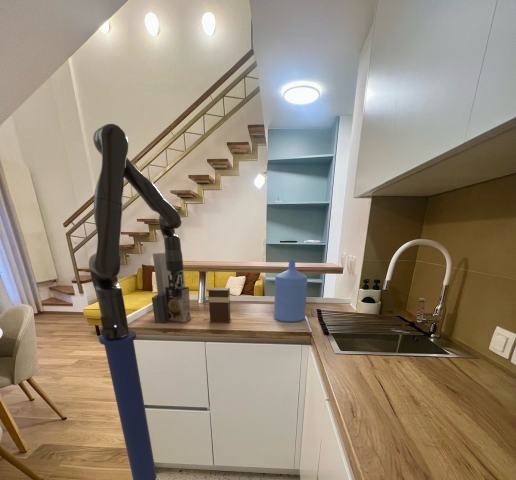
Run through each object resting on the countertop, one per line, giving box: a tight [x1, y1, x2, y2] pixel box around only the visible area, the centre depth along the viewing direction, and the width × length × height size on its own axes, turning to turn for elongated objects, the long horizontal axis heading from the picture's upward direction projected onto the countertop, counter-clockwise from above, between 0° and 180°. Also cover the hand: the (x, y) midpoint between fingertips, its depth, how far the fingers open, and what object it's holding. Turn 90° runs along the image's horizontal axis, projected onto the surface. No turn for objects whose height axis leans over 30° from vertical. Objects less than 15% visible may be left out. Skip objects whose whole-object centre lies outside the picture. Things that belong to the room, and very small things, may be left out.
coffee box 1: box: [165, 286, 192, 323], centre depth 134 cm, size 9×6×16 cm
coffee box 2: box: [207, 287, 231, 324], centre depth 133 cm, size 6×9×16 cm
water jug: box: [273, 260, 308, 323], centre depth 136 cm, size 16×16×28 cm
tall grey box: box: [152, 252, 186, 295], centre depth 148 cm, size 14×6×30 cm, turn 147°
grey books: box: [151, 291, 170, 324], centre depth 135 cm, size 11×5×13 cm, turn 178°
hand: (177, 295), depth 132 cm, fingers closed on coffee box 1, 7 cm apart
